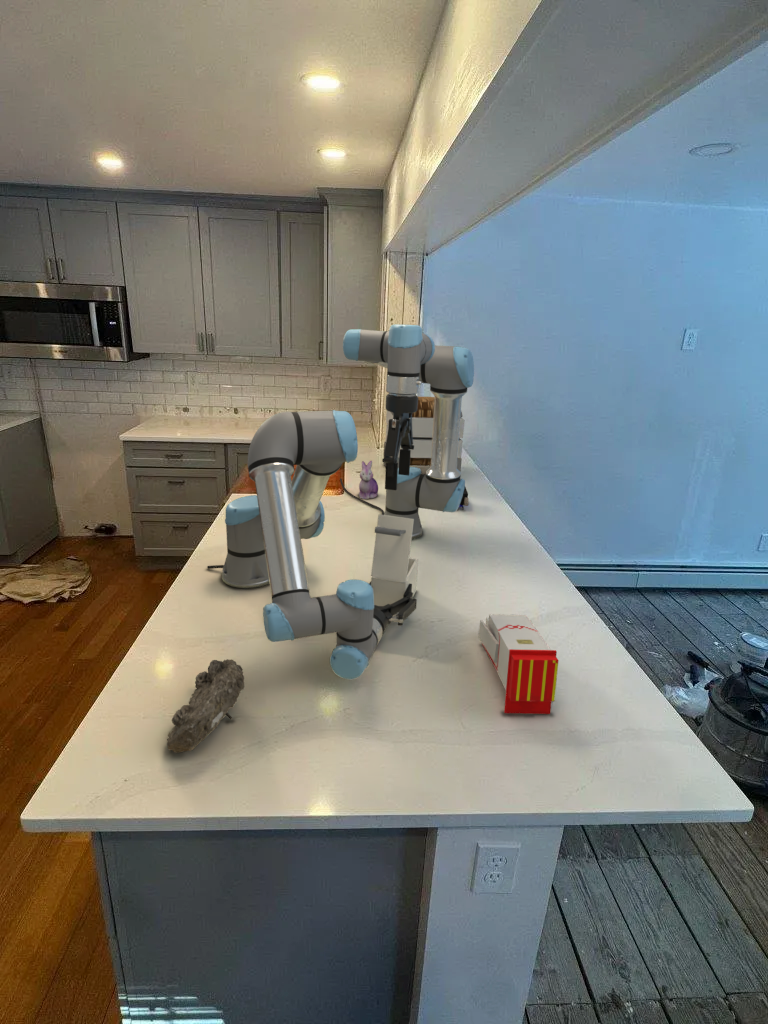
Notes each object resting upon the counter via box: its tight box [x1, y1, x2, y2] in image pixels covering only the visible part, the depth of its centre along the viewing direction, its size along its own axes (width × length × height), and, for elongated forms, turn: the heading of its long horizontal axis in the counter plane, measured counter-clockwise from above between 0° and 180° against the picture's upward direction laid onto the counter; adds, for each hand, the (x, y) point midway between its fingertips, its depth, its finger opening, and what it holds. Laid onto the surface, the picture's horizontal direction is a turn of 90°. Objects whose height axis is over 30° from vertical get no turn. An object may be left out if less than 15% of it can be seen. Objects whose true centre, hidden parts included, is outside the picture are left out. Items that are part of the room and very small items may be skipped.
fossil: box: [166, 658, 245, 754], centre depth 106 cm, size 22×10×15 cm
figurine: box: [358, 460, 379, 500], centre depth 236 cm, size 9×10×15 cm
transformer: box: [382, 395, 465, 474], centre depth 268 cm, size 34×33×41 cm
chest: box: [370, 557, 419, 616], centre depth 152 cm, size 15×9×10 cm, turn 165°
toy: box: [477, 613, 560, 715], centre depth 124 cm, size 12×13×30 cm
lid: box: [370, 513, 414, 582], centre depth 139 cm, size 16×9×8 cm
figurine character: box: [458, 486, 470, 511], centre depth 230 cm, size 7×8×15 cm
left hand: (392, 585), depth 149 cm, fingers closed on chest, 9 cm apart
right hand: (397, 481), depth 139 cm, fingers open, 13 cm apart
